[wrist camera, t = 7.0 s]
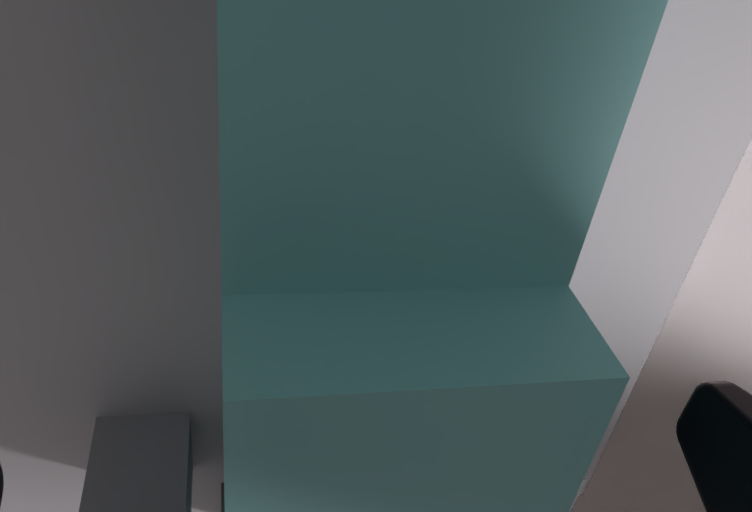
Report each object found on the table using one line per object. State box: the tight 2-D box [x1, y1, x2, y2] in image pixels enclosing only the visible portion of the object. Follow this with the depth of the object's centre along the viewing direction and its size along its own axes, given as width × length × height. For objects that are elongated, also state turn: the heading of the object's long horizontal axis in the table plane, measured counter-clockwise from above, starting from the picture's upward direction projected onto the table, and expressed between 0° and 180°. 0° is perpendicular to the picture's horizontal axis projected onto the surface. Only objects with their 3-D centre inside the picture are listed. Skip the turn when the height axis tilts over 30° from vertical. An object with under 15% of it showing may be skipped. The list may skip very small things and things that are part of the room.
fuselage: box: [217, 0, 668, 512], centre depth 8 cm, size 12×4×4 cm, turn 173°
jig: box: [0, 0, 752, 512], centre depth 9 cm, size 16×12×3 cm
